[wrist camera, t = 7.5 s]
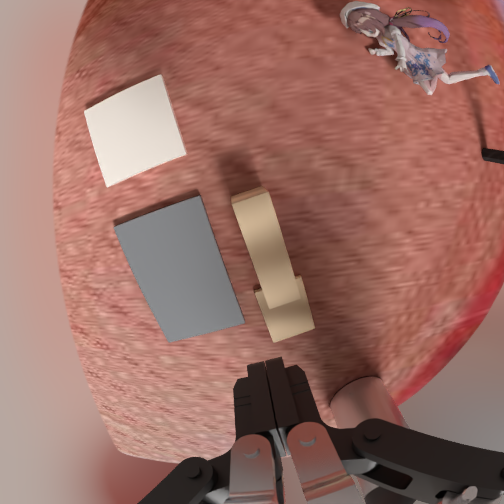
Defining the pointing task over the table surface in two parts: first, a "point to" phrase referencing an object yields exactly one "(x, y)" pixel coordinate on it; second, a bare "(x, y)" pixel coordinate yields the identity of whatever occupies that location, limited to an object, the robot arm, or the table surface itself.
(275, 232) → the beige wooden bar
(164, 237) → the mat
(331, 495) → the robot arm
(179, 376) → the table surface
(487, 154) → the solar garden light
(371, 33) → the figurine
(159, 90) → the tile
